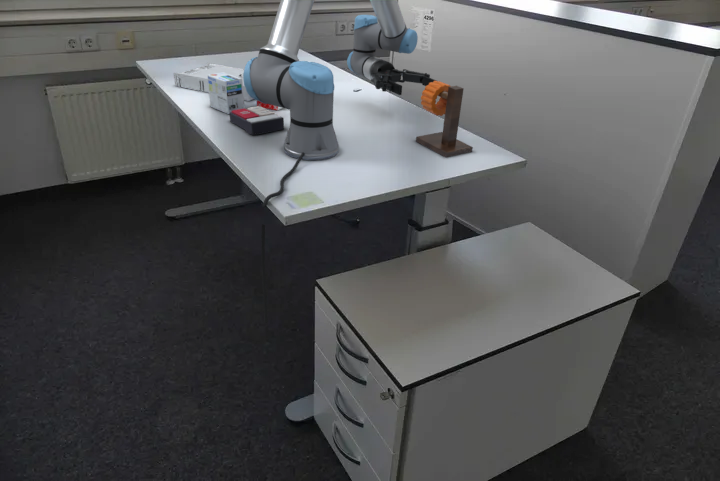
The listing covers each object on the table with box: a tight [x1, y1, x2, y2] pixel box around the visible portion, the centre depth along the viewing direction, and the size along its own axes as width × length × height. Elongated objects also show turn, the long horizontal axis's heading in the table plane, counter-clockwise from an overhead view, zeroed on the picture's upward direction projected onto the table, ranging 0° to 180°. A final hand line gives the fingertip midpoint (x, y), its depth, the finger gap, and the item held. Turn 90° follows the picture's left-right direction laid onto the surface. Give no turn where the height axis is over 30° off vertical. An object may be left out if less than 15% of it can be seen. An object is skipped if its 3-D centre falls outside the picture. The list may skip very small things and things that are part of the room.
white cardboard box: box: [173, 62, 254, 102], centre depth 206 cm, size 19×33×5 cm, turn 64°
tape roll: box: [420, 80, 452, 117], centre depth 162 cm, size 9×5×9 cm, turn 122°
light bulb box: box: [207, 72, 245, 115], centre depth 183 cm, size 11×7×11 cm, turn 47°
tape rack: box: [415, 85, 474, 158], centre depth 161 cm, size 16×10×18 cm, turn 32°
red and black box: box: [229, 105, 285, 136], centre depth 172 cm, size 11×4×15 cm
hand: (419, 88), depth 169 cm, fingers open, 13 cm apart
